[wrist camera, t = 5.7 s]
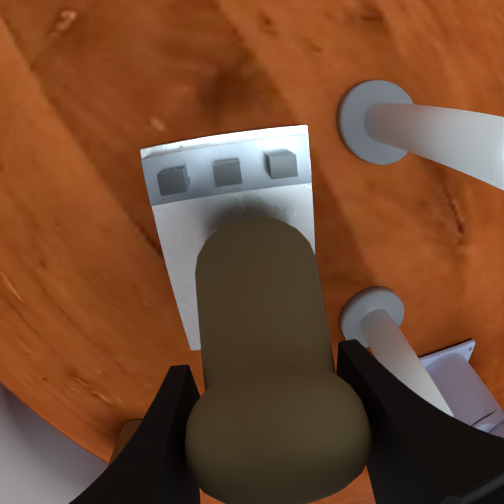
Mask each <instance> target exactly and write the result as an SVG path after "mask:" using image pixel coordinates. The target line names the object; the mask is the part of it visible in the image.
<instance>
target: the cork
mask: <svg viewBox="0 0 504 504" xmlns="http://www.w3.org/2000/svg"><path fill="white" fill-rule="evenodd" d="M195 281H196V296H197V309H198V321H199V333H200V344H201V354H202V364H203V374H204V383H205V392H204V393H203V395H202V396H201V397H200V398H199V400H198V401H197V402H196V404H195V405H194V407H193V409H192V411H191V414H190V416H189V419H188V421H187V428H186V438H185V449H184V454H185V459H186V463H187V468H188V470H189V472H190V473H191V475H192V477H193V478H194V480H195V481H196V483H197V484H198V486H199V487H200V488H201V489H202V491H203V492H204V493H206V494H208V495H209V496H211V497H213V498H215V499H217V500H219V501H221V502H223V503H225V504H306V503H310V502H314V501H317V500H320V499H323V498H325V497H328V496H331V495H333V494H335V493H336V492H338V491H340V490H342V489H344V488H345V487H346V486H347V485H349V484H350V483H351V482H352V481H353V480H354V479H355V478H357V477H358V476H359V475H360V474H361V473H362V472H363V469H364V467H365V465H366V463H367V460H368V457H369V454H370V451H371V448H372V429H371V426H370V423H369V420H368V417H367V414H366V412H365V409H364V406H363V404H362V401H361V399H360V398H359V396H358V395H357V394H356V392H355V391H354V390H353V388H352V387H351V386H350V385H349V384H348V383H346V382H345V381H344V380H342V379H341V378H340V377H339V376H337V375H336V374H335V367H334V360H333V354H332V347H331V341H330V334H329V328H328V322H327V316H326V310H325V304H324V299H323V293H322V288H321V282H320V277H319V271H318V266H317V261H316V257H315V254H314V252H313V249H312V247H311V245H310V242H309V241H308V240H307V239H306V238H305V237H304V236H303V235H302V233H301V232H300V231H299V230H298V229H296V228H295V227H293V226H291V225H289V224H287V223H285V222H283V221H281V220H278V219H272V218H266V217H261V216H259V217H251V218H243V219H238V220H236V221H233V222H231V223H229V224H227V225H225V226H222V227H220V228H219V229H218V230H217V231H216V232H215V233H214V234H212V235H211V236H210V237H209V238H208V239H207V240H206V241H205V243H204V245H203V247H202V248H201V250H200V252H199V254H198V256H197V262H196V269H195Z"/></svg>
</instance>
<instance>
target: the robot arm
mask: <svg viewBox="0 0 504 504" xmlns="http://www.w3.org/2000/svg"><path fill="white" fill-rule="evenodd" d="M474 345H475V341H474V340H470V341H467V342H464V343H462V344H459V345H456V346H453V347H450V348H448V349H445V350H442V351H439V352H436V353H433V354H430V355H427V356H424V357H420V358H419V360H420V361H421V363H422V364H423V366H424V368H425V369H426V371H427V372H428V374H429V376H430V377H431V379H432V380H433V382H434V384H435V385H436V387H437V388H438V390H439V392H440V393H441V395H442V397H443V398H444V400H445V402H446V403H447V405H448V407H449V408H450V410H451V412H452V413H453V415H454V417H452V416H450V415H448V414H447V413H445V412H443V411H442V410H440V409H438V408H437V407H435V406H434V405H432V404H431V403H429V402H428V401H426V400H425V399H423V398H422V397H420V396H419V395H418V394H416V393H415V392H414V391H413V390H411V389H410V388H409V387H407V386H406V385H405V384H404V383H403V382H401V381H400V380H399V379H398V378H397V377H396V376H394V375H393V374H392V373H391V372H390V371H389V370H388V369H386V368H385V367H384V366H383V365H382V364H381V363H380V362H379V361H378V360H377V359H376V358H375V357H374V356H373V355H372V354H371V353H370V352H369V351H368V350H367V349H366V348H365V347H364V346H363V345H362V344H361V343H360V342H359V341H358V340H356V339H352V340H347V341H342V342H339V345H338V359H337V372H336V375H337V376H339V377H340V378H341V379H342V380H344V381H345V382H346V383H348V384H349V385H350V386H351V387H352V388H353V390H354V391H355V392H356V394H357V395H358V396H359V398H360V399H361V401H362V404H363V406H364V409H365V412H366V414H367V417H368V420H369V423H370V426H371V429H372V448H371V451H370V454H369V457H368V460H367V463H366V466H367V470H368V473H369V477H370V481H371V485H372V489H373V493H374V498H375V502H376V504H504V411H503V410H502V409H501V408H500V406H499V405H498V403H497V402H496V400H495V399H494V398H493V396H492V395H491V393H490V392H489V390H488V389H487V387H486V386H485V385H484V383H483V382H482V380H481V379H480V378H479V376H478V375H477V374H476V372H475V371H474V369H473V368H472V367H471V365H470V364H469V363H468V361H469V358H470V356H471V353H472V351H473V348H474ZM199 398H200V395H199V392H198V389H197V387H196V384H195V381H194V378H193V376H192V373H191V370H190V367H189V365H178V366H171V367H170V368H169V370H168V372H167V375H166V377H165V379H164V381H163V383H162V385H161V387H160V389H159V391H158V393H157V395H156V397H155V398H154V400H153V402H152V404H151V406H150V407H149V409H148V411H147V413H146V415H145V416H144V418H143V420H142V421H141V423H140V424H139V426H138V427H137V429H136V431H135V432H134V434H133V435H132V437H131V438H130V440H129V441H128V442H127V444H126V445H125V447H124V448H123V449H122V451H121V452H120V453H119V454H118V456H117V457H116V458H115V459H114V461H113V462H112V463H111V464H110V465H109V466H108V467H107V469H106V470H105V471H104V472H103V473H102V474H101V475H100V476H99V477H98V478H97V479H96V480H95V481H94V482H93V483H92V484H91V485H90V486H89V487H88V488H87V489H86V490H85V491H83V492H82V493H81V494H80V495H79V496H78V497H77V498H75V499H74V500H73V501H72V502H70V503H69V504H200V490H199V486H198V484H197V483H196V481H195V480H194V478H193V477H192V475H191V473H190V472H189V470H188V468H187V463H186V459H185V454H184V449H185V438H186V428H187V421H188V419H189V416H190V414H191V411H192V409H193V407H194V405H195V404H196V402H197V401H198V400H199Z"/></svg>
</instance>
